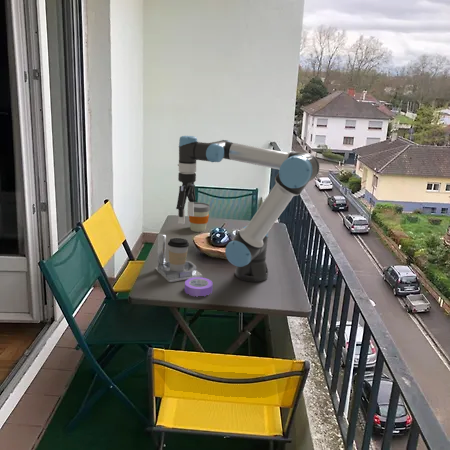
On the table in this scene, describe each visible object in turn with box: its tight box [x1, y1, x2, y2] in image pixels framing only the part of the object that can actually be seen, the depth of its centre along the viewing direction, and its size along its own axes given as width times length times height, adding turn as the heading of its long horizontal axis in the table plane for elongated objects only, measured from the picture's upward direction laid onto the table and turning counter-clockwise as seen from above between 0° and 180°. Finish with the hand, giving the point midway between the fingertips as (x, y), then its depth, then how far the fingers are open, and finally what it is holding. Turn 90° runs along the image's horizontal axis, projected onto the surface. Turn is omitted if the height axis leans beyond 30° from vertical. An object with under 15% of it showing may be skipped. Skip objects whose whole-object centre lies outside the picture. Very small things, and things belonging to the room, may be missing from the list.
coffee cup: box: [167, 237, 190, 272], centre depth 204 cm, size 9×9×15 cm
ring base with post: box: [155, 233, 203, 283], centre depth 206 cm, size 16×16×17 cm
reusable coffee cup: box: [188, 201, 211, 233], centre depth 271 cm, size 13×13×15 cm
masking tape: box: [184, 276, 214, 298], centre depth 192 cm, size 12×12×4 cm
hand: (186, 219), depth 204 cm, fingers open, 13 cm apart
